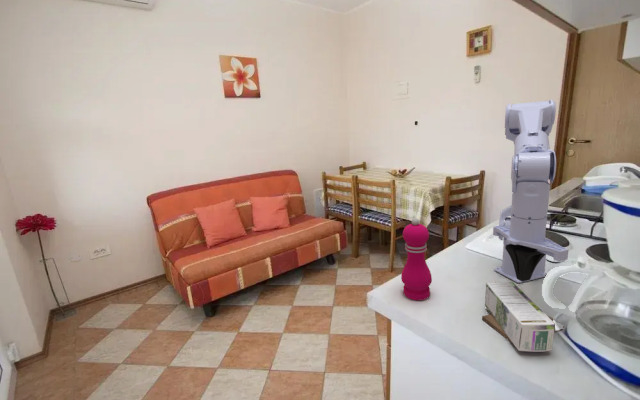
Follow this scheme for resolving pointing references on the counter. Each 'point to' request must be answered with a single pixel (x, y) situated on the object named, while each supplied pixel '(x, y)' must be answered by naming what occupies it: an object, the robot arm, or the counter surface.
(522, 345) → the syrup box
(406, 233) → the pepper mill
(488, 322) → the walnut board
